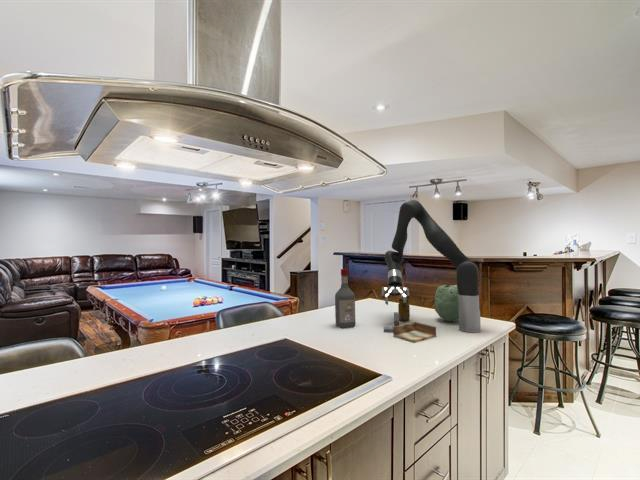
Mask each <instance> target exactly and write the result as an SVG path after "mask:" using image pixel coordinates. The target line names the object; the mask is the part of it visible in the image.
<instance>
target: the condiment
mask: <svg viewBox="0 0 640 480" xmlns="http://www.w3.org/2000/svg"><path fill="white" fill-rule="evenodd" d="M409 301H410V300H409V299H408V298H407V299H406V304H405V305H404V303H403V298H402V297H400V298H398V306H397V307H398V308H397V310H398V311H397V312H399V323H400V322H401V323H413V322H415V321H414V320H411V314H410V310H411V309H410V308H411V307H410V302H409Z"/></svg>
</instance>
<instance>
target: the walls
mask: <svg viewBox="0 0 640 480" xmlns="http://www.w3.org/2000/svg"><path fill="white" fill-rule="evenodd" d="M392 327H393V333H392V334H394V335H397V334H402V333H406V332H410V331H414V330H417V331H421V332H425V333H429V334H432V335H436V336H437V326H434V325H430V324H426V323H421V322H417V321H414V322H407V323H404V324H401V325H400V324H399V326H395V327H394V326H392Z"/></svg>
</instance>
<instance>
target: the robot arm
mask: <svg viewBox="0 0 640 480" xmlns="http://www.w3.org/2000/svg"><path fill="white" fill-rule="evenodd" d="M398 213H399V214H398V220H397V224H396V225H397V226H396V231H395V233H394V236H393V237H394V238H393V240H392V243H391V248H392V249H393V250H387V251H386V252H385V253H384V261H385V263H386V266H387V272H388V273H387V287H385V286H382V287H381V298H382V299H384V301H385V304H386V305H387V306H388V305H389V298H391V297H393V296H397V297H398V296H399V297H400V298H403V303H404V305H405V304H406V299H408V300H409V299H410V290H409V286H406V287H403V276H402V275H403V274H402V267H401V264H402V263H403V262H404V250H405V246H406V243H407V240H408V227H409V224H410V222H411V220H412V219H415V220H416V221H417V222H418V223H419V224H420V225H421V226H420V227H421V228H422V229H423V233H424V235H425V239H426V240H427V241H428V242H429V244H431V246H432V247H433V248H434V249H435V250H436V251H437V252H438V253H439V254H441V255H442V256H443V257H445V258H446V259H447V260H448V261H449V263H450V262H451V264H452V265H453V266H454V268H455V269H456V285H457V289H458V305H459V320H458V328H459V330H460V331H461V332H466V333H478V332H480V331H481V326H482V325H481V324H482V323H481V310H480V289H479V276H478V275H479V272H480V271H479V267H478V266H477V264H476V263H474V262H473V261H472V260H471V259H470V258H469V257H468V256H467V255H465V254H464V253H463V252H462V250H460V248H459V247H458V246H457V244H456V243H455V242H454V240H453V239H452V238H451V237H450V236H449V235H448V234H447V232H446V231H445V230H444V229H443V227H441V226H440V225H439V224H438V223H437V222H436V220H434V219H433V217H432V216H431V215H430V214H429V212H428V211H427V210H426V209H425V207H424V206H423V204H422V203H421V202H419V201H418V200H416V199H412V200H408V201H405V202H403V203H401V205H400V208H399V210H398ZM385 292H387V293H385ZM405 293H406V294H405Z"/></svg>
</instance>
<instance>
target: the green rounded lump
mask: <svg viewBox="0 0 640 480" xmlns="http://www.w3.org/2000/svg"><path fill="white" fill-rule="evenodd" d="M433 309H434V311H435V313H436V314H437V315H438V317H440V318H441V319H442V320H443V321H446V322H456V321H459V305H458V289H457V284H455V285H452V284H451V285H446V284H443V285H439V286H438V287H437V289H436V291H435V295H434V307H433Z"/></svg>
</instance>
